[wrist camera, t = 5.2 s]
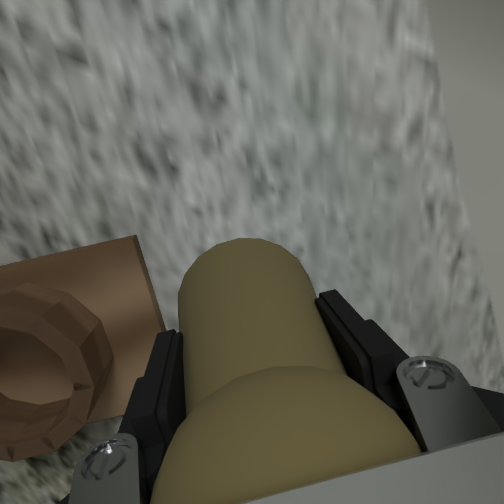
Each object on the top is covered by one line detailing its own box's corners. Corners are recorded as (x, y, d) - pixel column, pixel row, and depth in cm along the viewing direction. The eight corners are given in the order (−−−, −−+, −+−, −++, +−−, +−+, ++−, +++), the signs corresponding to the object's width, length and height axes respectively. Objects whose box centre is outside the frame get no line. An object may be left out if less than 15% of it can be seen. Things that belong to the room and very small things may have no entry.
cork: (189, 372, 16) (141, 807, 5) (165, 247, 14) (25, 516, 4) (316, 352, 16) (508, 715, 6) (308, 229, 15) (560, 417, 4)
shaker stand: (-123, 294, 23) (-212, 327, 19) (136, 234, 24) (114, 252, 19) (-41, 445, 27) (-99, 507, 22) (184, 390, 27) (177, 438, 22)
